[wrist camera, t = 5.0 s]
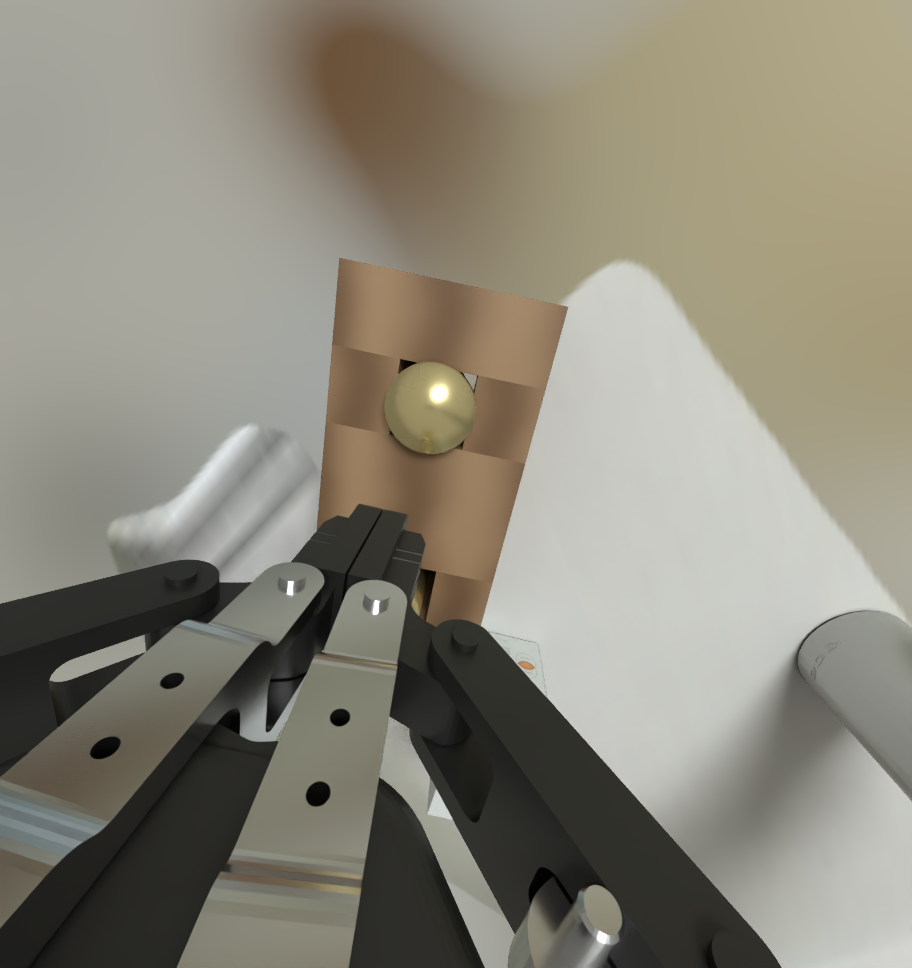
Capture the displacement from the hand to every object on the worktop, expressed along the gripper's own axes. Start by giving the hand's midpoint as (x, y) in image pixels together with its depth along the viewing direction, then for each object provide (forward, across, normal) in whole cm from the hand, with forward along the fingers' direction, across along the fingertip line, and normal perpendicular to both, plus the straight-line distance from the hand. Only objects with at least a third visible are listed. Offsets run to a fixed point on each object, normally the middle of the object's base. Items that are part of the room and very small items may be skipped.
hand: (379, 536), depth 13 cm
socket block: (+21, 0, +5) cm, 21 cm away
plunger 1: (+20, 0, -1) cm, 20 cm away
